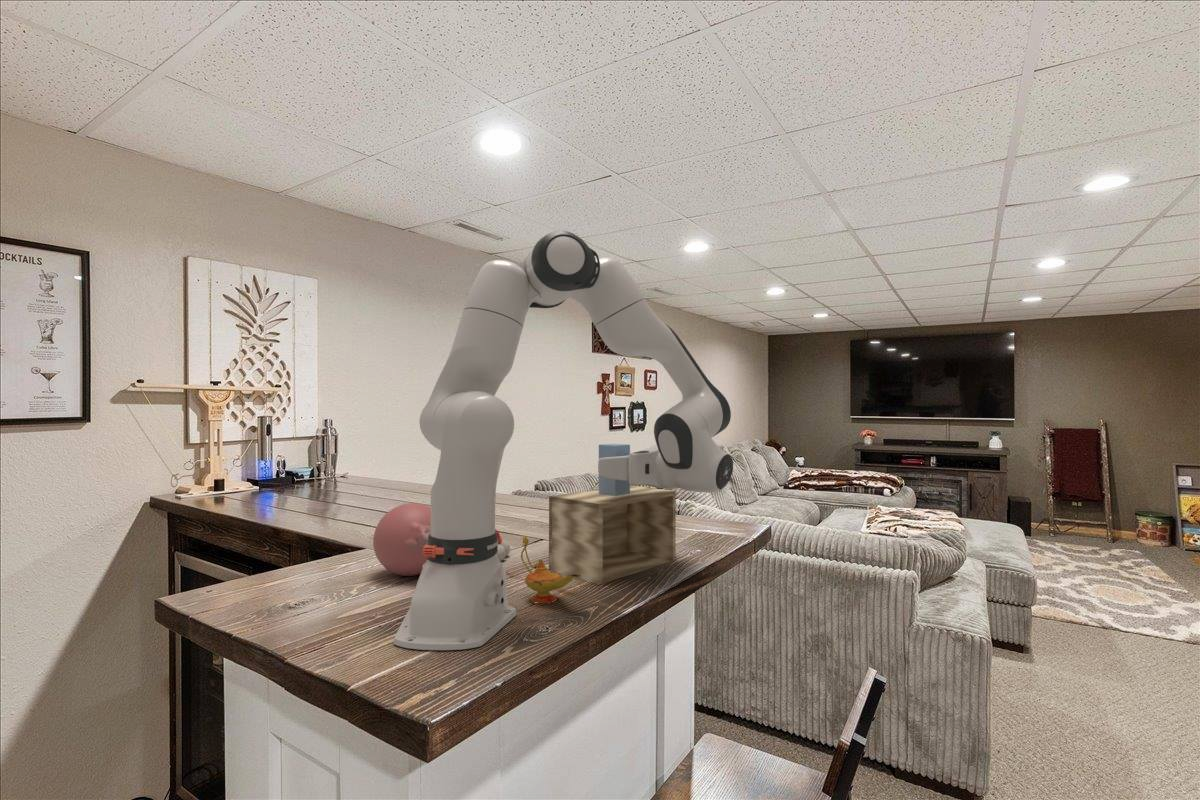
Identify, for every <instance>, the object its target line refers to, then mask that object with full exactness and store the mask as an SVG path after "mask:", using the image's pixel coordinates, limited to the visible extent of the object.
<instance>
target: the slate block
mask: <svg viewBox="0 0 1200 800" xmlns="http://www.w3.org/2000/svg"><path fill="white" fill-rule="evenodd" d="M630 453H631V444H626V443H625V444H623V443H606V444H605V443H603V444H598V460H599V459H600V458H604V457H617V456H626V455H629V454H630ZM630 486H631V484H629V481H622V480H616V479H611V478H607V477H603V476H600V475H599V474H598V489H599V494H605V495H612V496H618V495H624V494H630Z"/></svg>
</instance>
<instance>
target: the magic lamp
mask: <svg viewBox="0 0 1200 800" xmlns="http://www.w3.org/2000/svg"><path fill="white" fill-rule="evenodd" d="M529 542H530V541H529V538H528V537H527V536H525V535H523V537H522V547H523V549H522V551H521V553H520V560H521V561H522V563H523V565H524V566H525V568H526V569H527V571H528V572H529V574H527V575H526V576H525V578H524V582H525V584H526V586H527V587H528V589H531V590H532V591H535V592H537V593H536V594H535V595H533V596H531V597H530V598H531V601H533V602H538V603H548V602H552V601H554V600H555V599H556V598H557V597H556V596H554V595H552V594H551V593H550V592H552V591H556V590H559V589H561V588H563V587H566V586H567V585H568V584H570V583H571V581H572V580H574V579H576V578H575V577H580V576H581V575H580V574H575V575H570V576H567V575H565V576H564V577H563V576H562V574H560V573H557V572H553V571H550V570H549V568H547V566H546V565H545V564H544V561H543V559H538V562H536V564H535V565H534V566H533V565H532V563H531V561H530V559H529V555H528V551H527V547H528V545H529ZM524 552H525V555H526V559H527V561H528V564H529V566H530V567H531V568H533V569H534V571H532V570H531V569H530V567H528V565H527V563H526V562H525V560H524V557H523V555H524ZM531 601H530V602H531ZM548 604H549V603H548Z"/></svg>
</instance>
